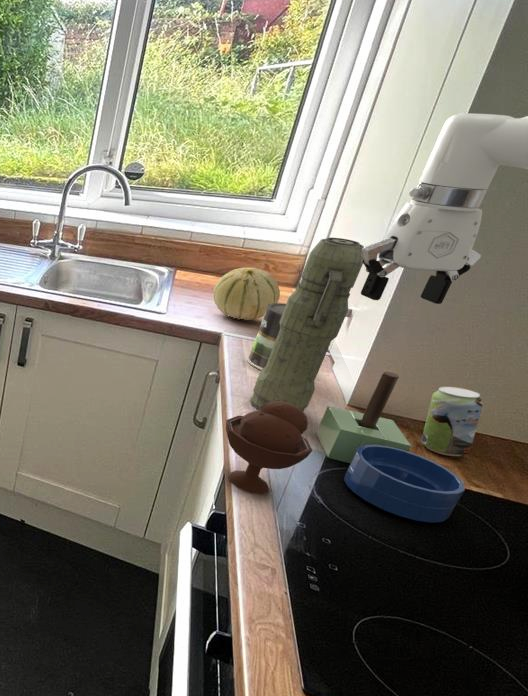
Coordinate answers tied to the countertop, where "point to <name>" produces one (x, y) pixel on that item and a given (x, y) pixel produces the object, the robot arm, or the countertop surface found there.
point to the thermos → (310, 323)
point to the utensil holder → (355, 434)
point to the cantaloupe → (246, 293)
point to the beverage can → (452, 421)
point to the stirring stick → (378, 400)
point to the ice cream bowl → (267, 442)
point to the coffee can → (266, 335)
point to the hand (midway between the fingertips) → (399, 299)
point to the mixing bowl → (404, 483)
